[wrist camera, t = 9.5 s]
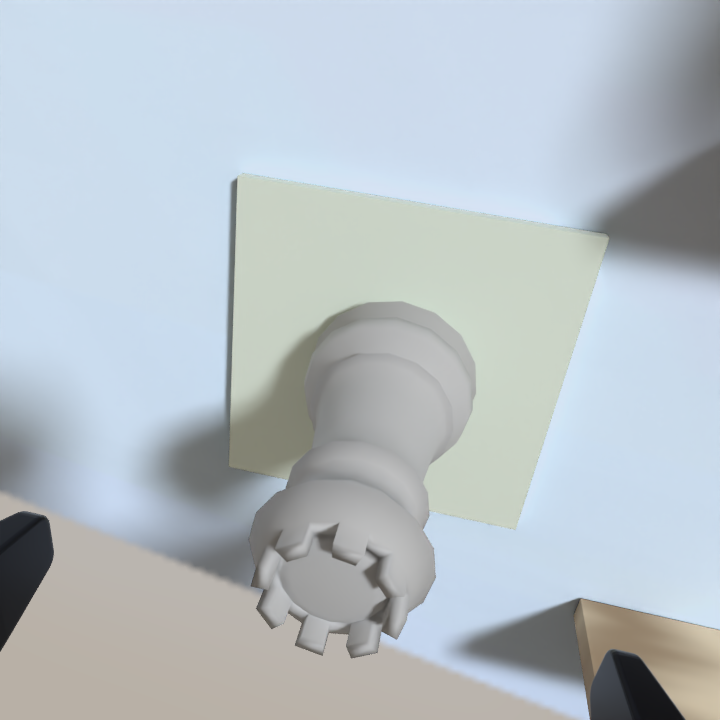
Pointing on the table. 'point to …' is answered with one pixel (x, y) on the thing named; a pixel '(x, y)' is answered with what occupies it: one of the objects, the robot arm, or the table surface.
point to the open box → (655, 653)
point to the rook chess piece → (364, 477)
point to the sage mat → (419, 288)
